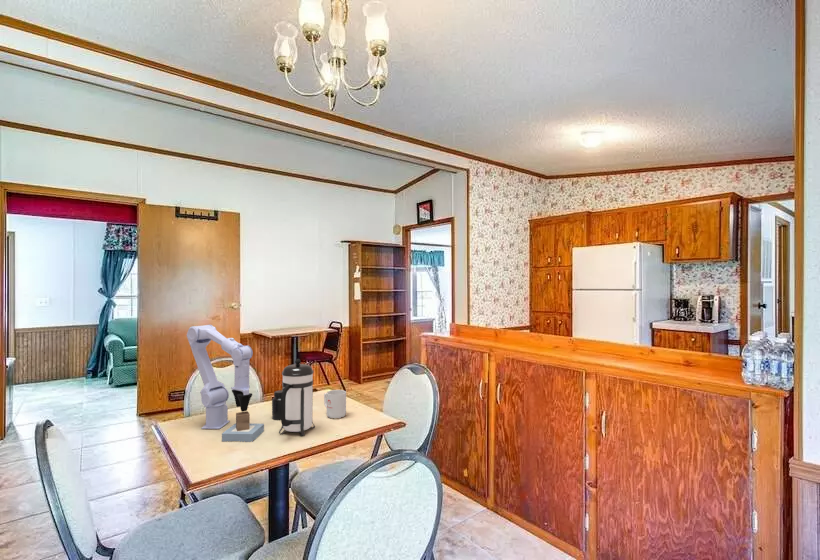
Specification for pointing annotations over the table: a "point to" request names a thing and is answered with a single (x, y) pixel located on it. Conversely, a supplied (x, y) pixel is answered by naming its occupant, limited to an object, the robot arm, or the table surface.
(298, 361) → the coffee press
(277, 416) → the supplement bottle
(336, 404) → the mug
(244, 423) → the walnut block
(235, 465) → the table surface
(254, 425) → the slate plinth
